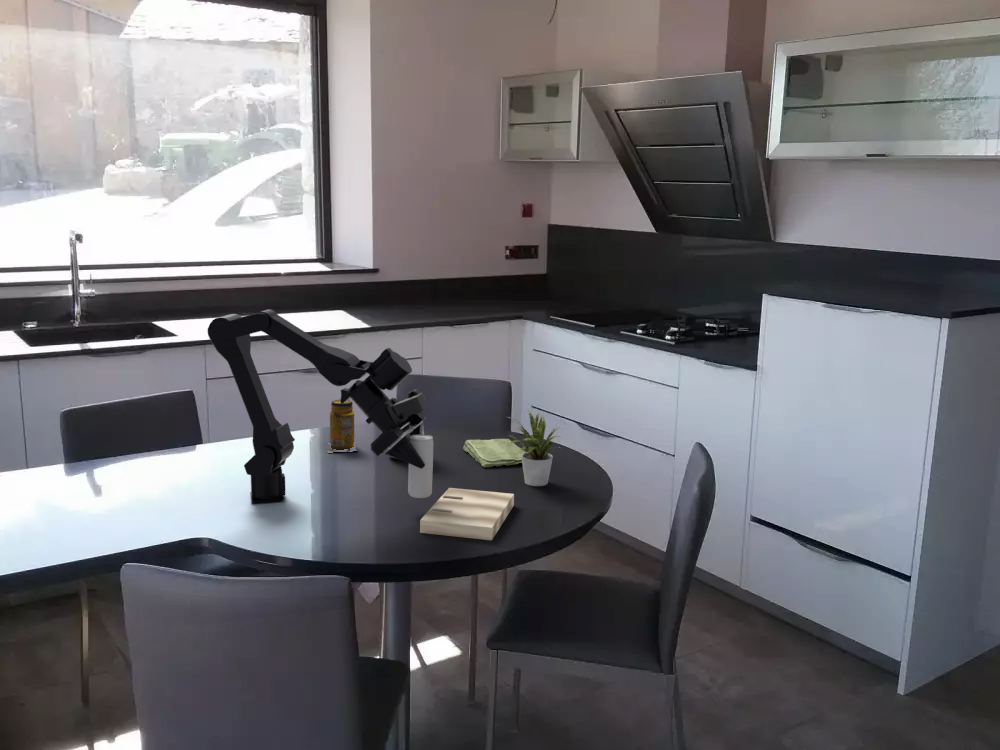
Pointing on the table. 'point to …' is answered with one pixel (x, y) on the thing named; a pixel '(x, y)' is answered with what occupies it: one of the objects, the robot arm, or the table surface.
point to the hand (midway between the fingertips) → (427, 463)
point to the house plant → (536, 453)
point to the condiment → (341, 425)
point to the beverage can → (422, 477)
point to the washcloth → (494, 452)
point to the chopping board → (467, 514)
